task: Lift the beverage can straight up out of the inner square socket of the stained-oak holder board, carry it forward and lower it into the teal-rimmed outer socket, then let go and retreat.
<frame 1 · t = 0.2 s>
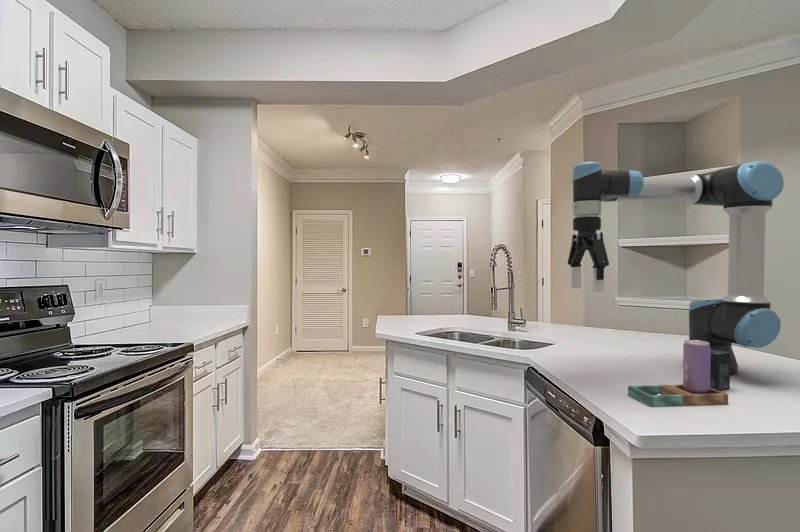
hand: (586, 290, 133), 28 cm above the table, fingers open, 13 cm apart
holder board: (676, 399, 119), on the table
beverage can: (696, 399, 120), resting in holder board
box: (709, 387, 130), on the table
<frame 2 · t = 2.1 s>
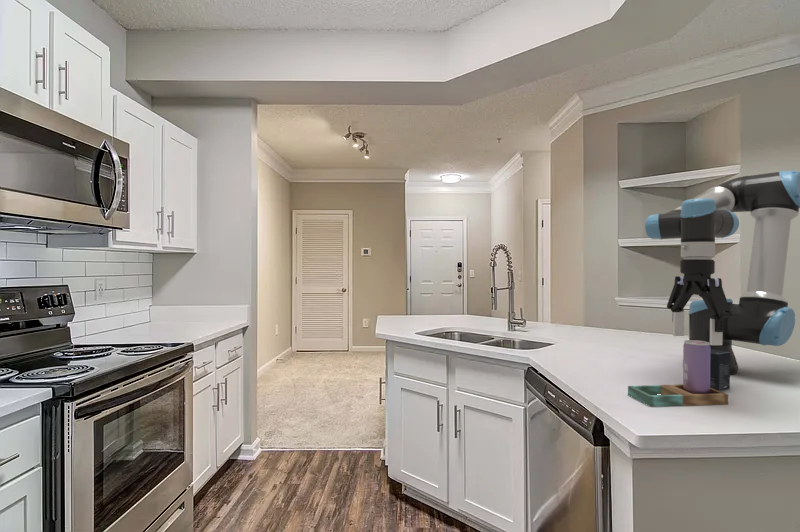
hand: (696, 340, 119), 15 cm above the table, fingers open, 13 cm apart
nothing on the table moved.
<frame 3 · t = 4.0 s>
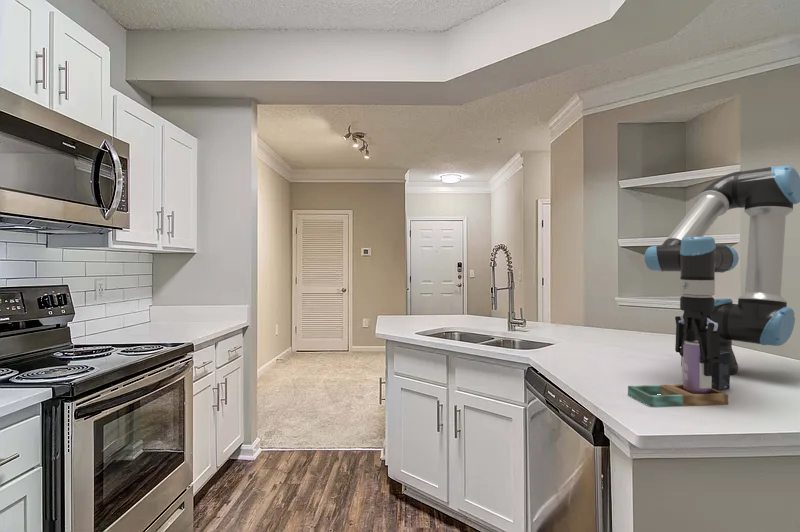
hand: (696, 384, 120), 4 cm above the table, fingers closed on beverage can, 6 cm apart
beverage can: (696, 399, 120), resting in holder board, touching gripper
everything else where it was.
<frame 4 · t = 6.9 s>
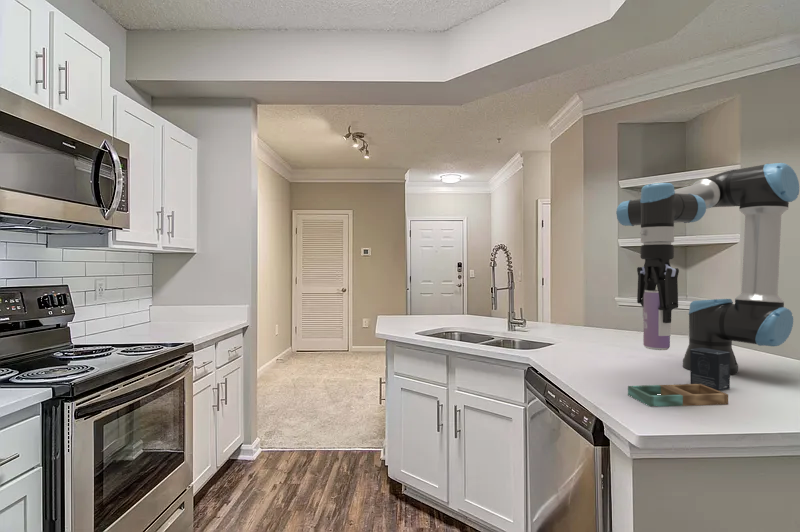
hand: (656, 333, 119), 17 cm above the table, fingers closed on beverage can, 6 cm apart
beverage can: (656, 349, 119), point 13 cm above the table, touching gripper
everything else where it was.
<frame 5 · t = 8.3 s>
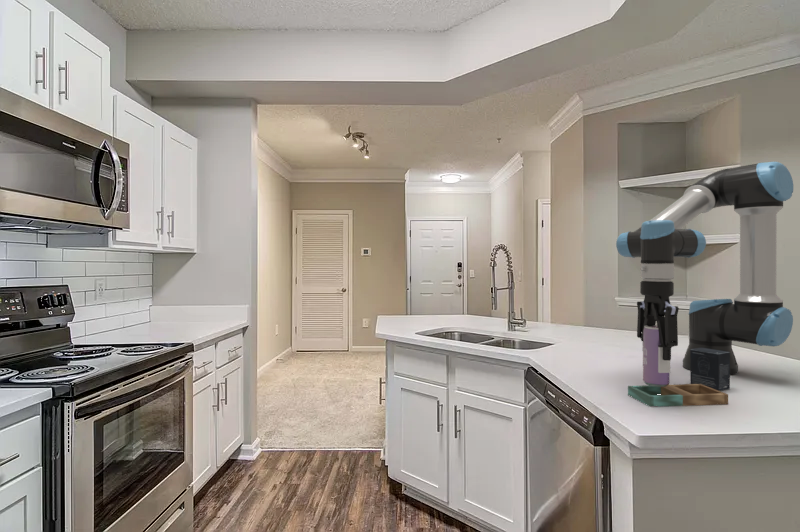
hand: (656, 369, 119), 8 cm above the table, fingers closed on beverage can, 6 cm apart
beverage can: (656, 384, 119), point 4 cm above the table, touching gripper
everything else where it was.
when the fingers open (5 cm above the table, at t = 9.6 s): beverage can drops 1 cm, resting in holder board.
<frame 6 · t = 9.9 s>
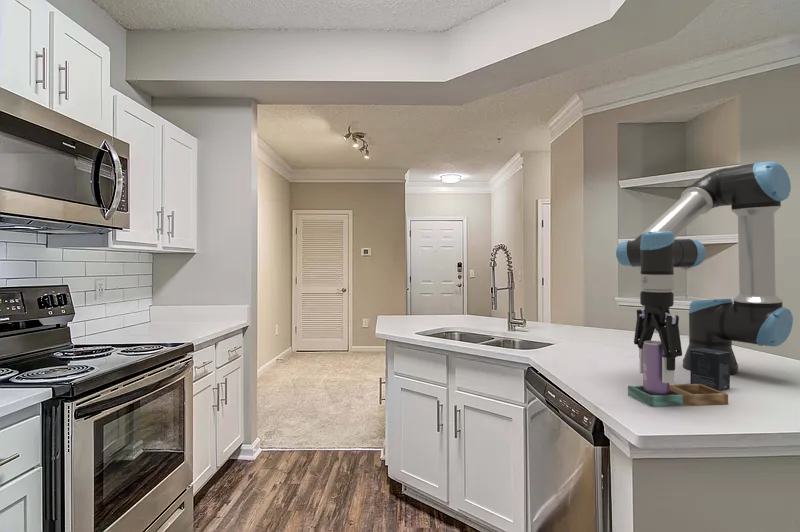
hand: (656, 377, 119), 6 cm above the table, fingers open, 9 cm apart
beverage can: (656, 400, 119), resting in holder board
everything else where it was.
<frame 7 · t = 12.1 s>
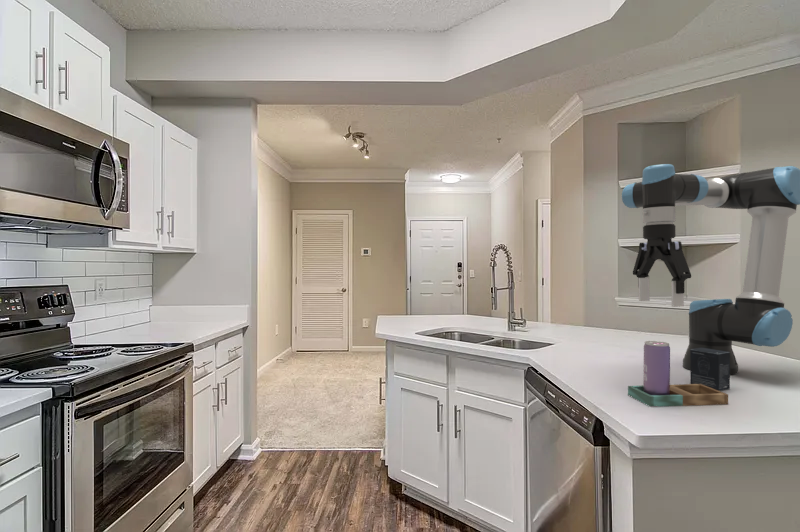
hand: (660, 303, 122), 25 cm above the table, fingers open, 13 cm apart
nothing on the table moved.
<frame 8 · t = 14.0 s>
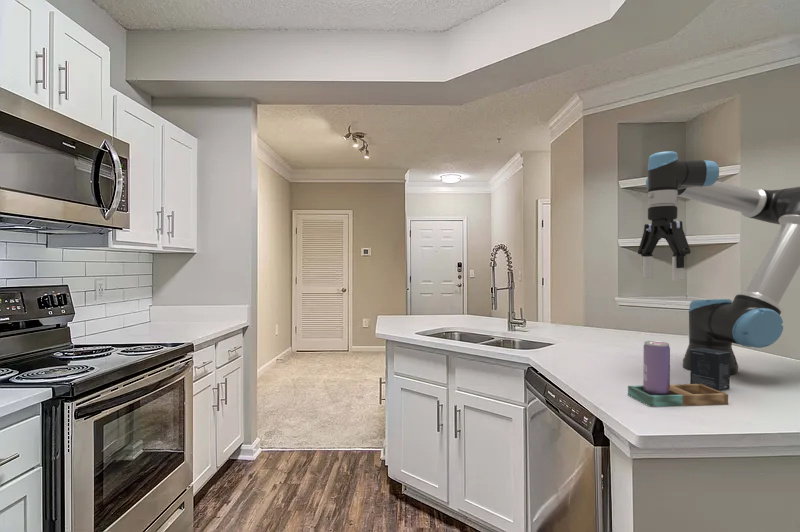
hand: (662, 278, 134), 31 cm above the table, fingers open, 13 cm apart
nothing on the table moved.
at the end: beverage can 0.1 cm from the target spot on the holder board, point 0.0 cm above the holder board's base; beverage can tilted 0°; the gripper is holding nothing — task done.
